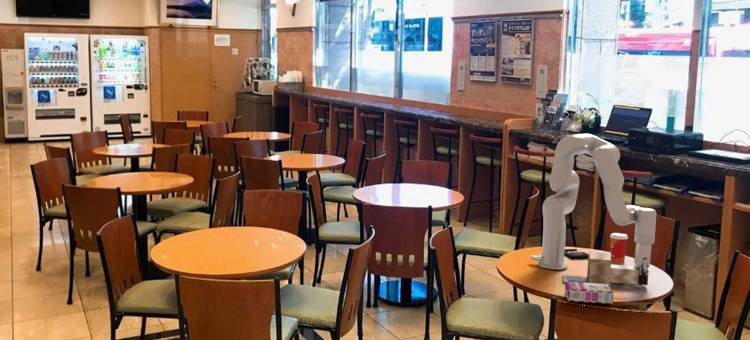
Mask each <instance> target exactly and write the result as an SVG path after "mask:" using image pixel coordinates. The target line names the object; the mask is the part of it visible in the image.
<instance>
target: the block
mask: <svg viewBox="0 0 750 340" xmlns="http://www.w3.org/2000/svg"><path fill="white" fill-rule="evenodd" d="M649 273H650V271H649V268H647V275H648V276H647V285H646V286H648V285H649ZM639 274H640V267H636V265H623V264H612V263H611V273H610V282H612V283H624V284H637V285H640V284H638V280H639Z"/></svg>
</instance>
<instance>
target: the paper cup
mask: <svg viewBox="0 0 750 340" xmlns="http://www.w3.org/2000/svg"><path fill="white" fill-rule="evenodd" d="M609 237H610V258H611V263H614V264H624V263H625V258H626V250H627V244H628V239H629V237H628V234H626V233H621V232H620V233H619V232H613V233H611V234H610V236H609Z"/></svg>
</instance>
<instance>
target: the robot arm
mask: <svg viewBox="0 0 750 340" xmlns="http://www.w3.org/2000/svg"><path fill="white" fill-rule="evenodd" d="M584 154H585V155H586V154H587V155H589V156H591V157H592V160H593V162H594V165H595V167H596V170H597V173H598V175H599V177H600V179H601V183H602V185H603V193H604V200H605V205H606V207H607V208H606V209H607V210H608V213H609V215H610V217H611V220H612V221H613V222H614V223H615V224H616V225H618V226H621V227H624V226H628V225H630V224H631V225H632V224H635V229H634V243H635V250H634V258H633V261H634V264H635V265H634V266H636V267H640V274H639V280H638V284H640V285H642V286H648V285H647V276H648V277H649V274H648V275H647V269H649V268H650V267H651V266H650V265H651V255H652V254H651V253H652V245H654V244H655V238H656V237H655V236H656V223H657V211H656V209H653V208H651V207H650V208H649V207H640V206H638V205H637V206H636V205H632V204H627V205H626V203H625V200H624V197H623V186H624V182H625V177H624V175H623V172H622V171H621V168H620V165H619V163H618V162H619V161H620V158H621V152H620V149H619V148H618V147H617V146H616V145H614V144H612V143H611V142H608V141H606V140H604V139H601V138H599V136H596V135H594V134H591V133H577V134H572V135H568V136H565V137H563V138H561V140H559V142H558V143H557V145H556V147H555V151H554V157H553V158H554V159H553V162H552V167H551V168H552V169H551V173H550V179H549V186H550V189H551V190H552V191H553V192H555V194H552V195H550V196H548V197H546V199H545V200H544V201H543V203H542V217H543V225H542V226H543V231H542V248H541V249H542V250H541V253H540V254H539V255H532V254H531V259H530V260H533V261H535V262H537V261H538V262H537V265H538V267H540V268H544V269H548V270H565V269H567V268H568V263H566V262H565V255H564V252H565V249H566V231H567V229H566V227H567V224H566V215H568V214H570V213H572V211H573V210H574V209H575V207H576V203H577V199H578V193H579V187H580V177H579V175H578V173H577V172H576V171H575V170H574V164H575V156H576V155H584Z"/></svg>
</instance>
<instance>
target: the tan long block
mask: <svg viewBox="0 0 750 340" xmlns="http://www.w3.org/2000/svg"><path fill="white" fill-rule="evenodd" d="M587 254H588V259H587V273H586V276H580V275H579V276H578V275H569V274H568V275H567V274H562V284H565V283H566V282H579V283H596V284H609V286H610V288H611V289H623V290H624V289H625V290H634V291H635V290H637V291H638V290H639V291H644V285H637V284H624V283H612V282H610V273H611V264H612V261H611V255H610V253H609V252H594V251H588V253H587Z"/></svg>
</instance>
